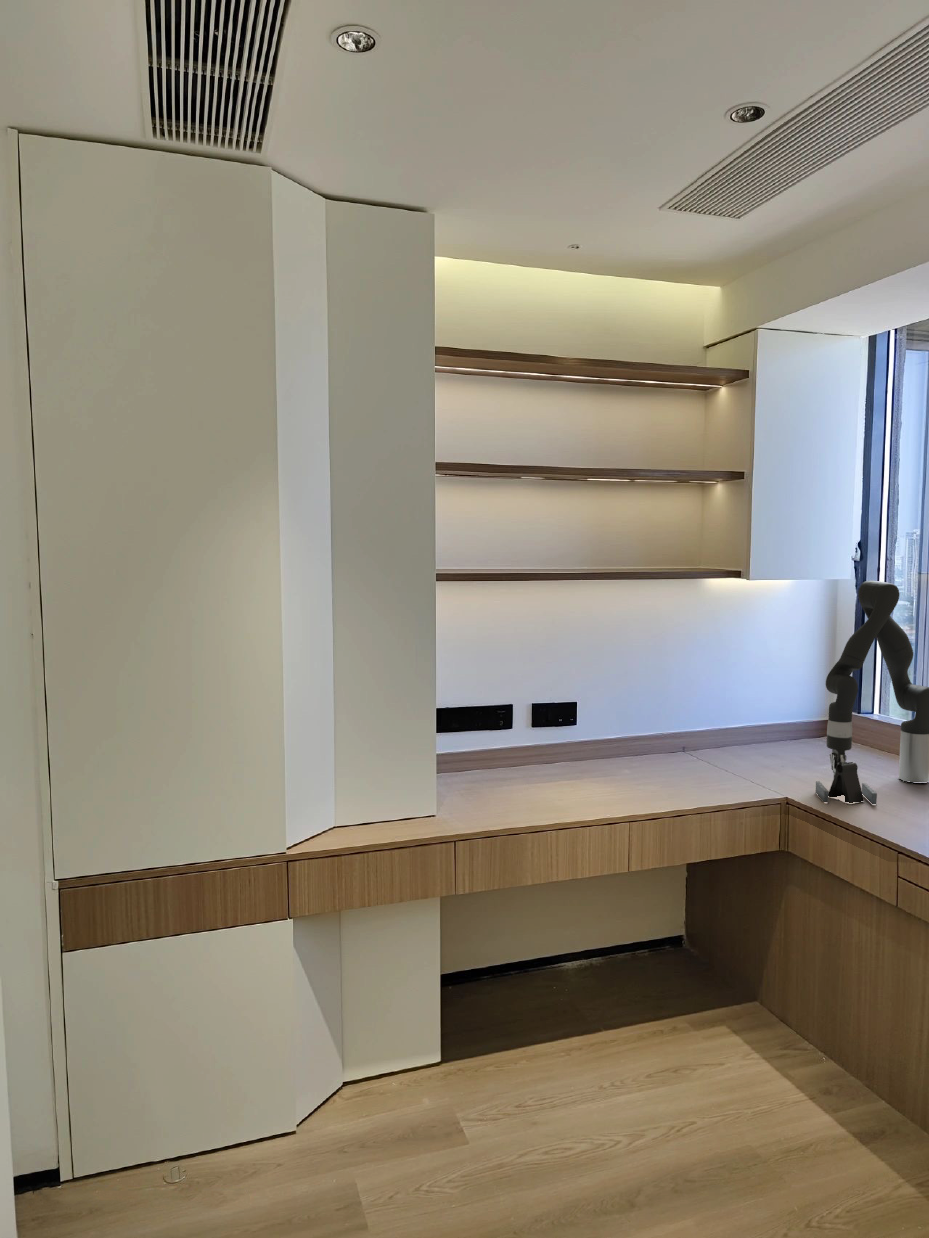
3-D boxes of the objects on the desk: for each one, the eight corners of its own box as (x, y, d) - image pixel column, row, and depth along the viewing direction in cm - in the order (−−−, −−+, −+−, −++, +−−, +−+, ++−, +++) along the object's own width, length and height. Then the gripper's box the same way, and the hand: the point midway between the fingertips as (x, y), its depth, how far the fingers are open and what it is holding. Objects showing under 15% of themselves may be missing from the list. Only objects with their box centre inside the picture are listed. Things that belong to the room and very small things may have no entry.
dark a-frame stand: (864, 802, 260) (865, 765, 259) (849, 805, 258) (851, 767, 256) (841, 794, 268) (842, 758, 267) (827, 797, 266) (828, 760, 265)
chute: (815, 793, 270) (815, 781, 270) (865, 795, 267) (866, 783, 267) (824, 803, 259) (824, 791, 259) (876, 805, 257) (876, 793, 256)
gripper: (857, 739, 262) (855, 792, 264) (846, 730, 275) (844, 780, 277) (832, 738, 264) (830, 790, 265) (822, 729, 277) (820, 779, 278)
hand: (837, 785), depth 271 cm, fingers closed
